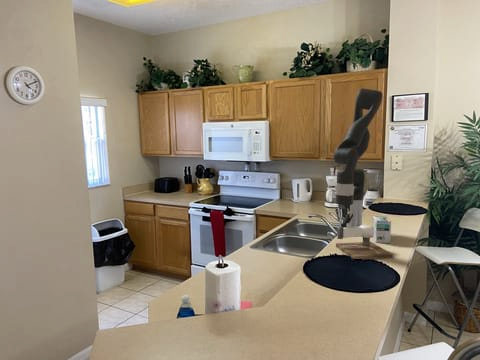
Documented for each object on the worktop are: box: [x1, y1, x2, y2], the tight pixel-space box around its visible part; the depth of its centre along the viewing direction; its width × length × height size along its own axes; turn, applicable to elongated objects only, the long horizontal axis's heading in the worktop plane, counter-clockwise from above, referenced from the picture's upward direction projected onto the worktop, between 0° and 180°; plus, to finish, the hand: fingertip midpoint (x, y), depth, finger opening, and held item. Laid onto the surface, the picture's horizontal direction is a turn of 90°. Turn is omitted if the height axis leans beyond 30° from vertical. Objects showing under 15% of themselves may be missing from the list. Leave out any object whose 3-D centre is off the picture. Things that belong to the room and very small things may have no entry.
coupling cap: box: [336, 224, 374, 240], centre depth 154 cm, size 17×6×5 cm, turn 100°
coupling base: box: [335, 237, 394, 260], centre depth 151 cm, size 18×17×6 cm
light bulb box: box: [372, 215, 392, 244], centre depth 168 cm, size 11×7×11 cm, turn 168°
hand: (343, 231), depth 156 cm, fingers closed
